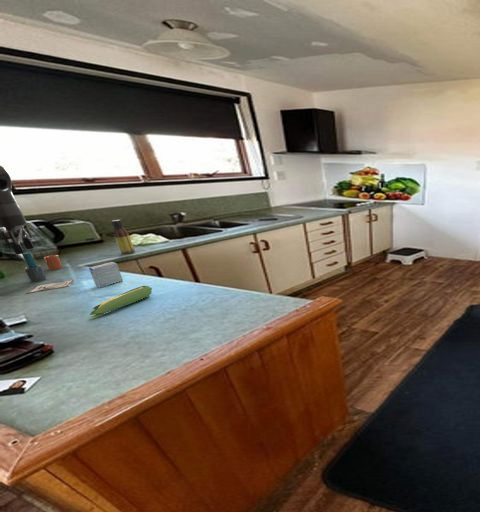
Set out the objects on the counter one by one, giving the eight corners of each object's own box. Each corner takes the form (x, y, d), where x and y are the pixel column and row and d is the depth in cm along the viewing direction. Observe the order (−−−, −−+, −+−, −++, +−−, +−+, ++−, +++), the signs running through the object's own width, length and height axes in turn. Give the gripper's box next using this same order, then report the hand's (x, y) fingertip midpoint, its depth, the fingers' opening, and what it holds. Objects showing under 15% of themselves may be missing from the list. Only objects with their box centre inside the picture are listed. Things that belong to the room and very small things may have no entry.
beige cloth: (26, 294, 110) (25, 293, 109) (36, 287, 117) (36, 285, 117) (68, 287, 116) (67, 286, 116) (76, 280, 123) (75, 279, 123)
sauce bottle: (129, 250, 165) (118, 218, 159) (137, 251, 164) (127, 219, 158) (117, 254, 159) (106, 221, 153) (126, 254, 158) (114, 221, 152)
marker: (33, 281, 121) (20, 254, 117) (36, 280, 123) (23, 253, 119) (41, 280, 122) (28, 253, 118) (44, 278, 124) (31, 252, 120)
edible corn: (157, 295, 108) (154, 284, 106) (93, 321, 90) (88, 309, 88) (148, 293, 109) (145, 283, 108) (83, 319, 91) (78, 307, 90)
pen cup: (47, 271, 134) (41, 258, 132) (51, 268, 138) (46, 255, 135) (61, 269, 136) (55, 256, 134) (64, 267, 140) (59, 254, 138)
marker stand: (29, 284, 120) (22, 269, 117) (34, 280, 123) (27, 266, 121) (44, 281, 122) (37, 267, 120) (49, 278, 126) (42, 264, 123)
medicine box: (118, 279, 124) (112, 261, 121) (123, 281, 122) (117, 263, 119) (95, 286, 117) (88, 267, 114) (100, 288, 115) (92, 269, 112)
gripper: (3, 213, 117) (21, 248, 122) (-18, 218, 105) (2, 257, 110) (30, 211, 120) (45, 245, 126) (12, 215, 109) (30, 253, 114)
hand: (25, 251), depth 118 cm, fingers open, 8 cm apart
